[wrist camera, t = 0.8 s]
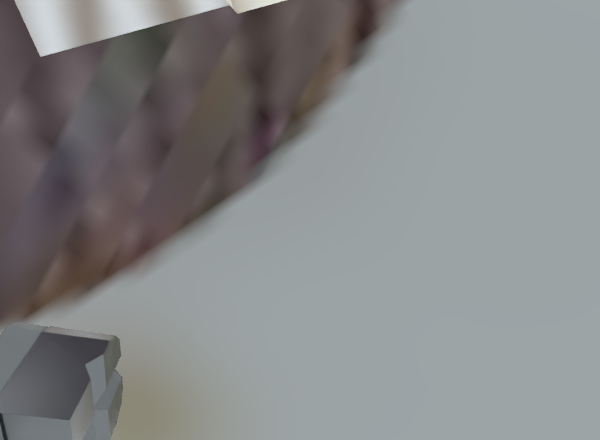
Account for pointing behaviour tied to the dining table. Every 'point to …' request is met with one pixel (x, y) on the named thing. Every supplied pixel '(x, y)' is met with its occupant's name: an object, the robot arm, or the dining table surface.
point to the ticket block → (108, 18)
